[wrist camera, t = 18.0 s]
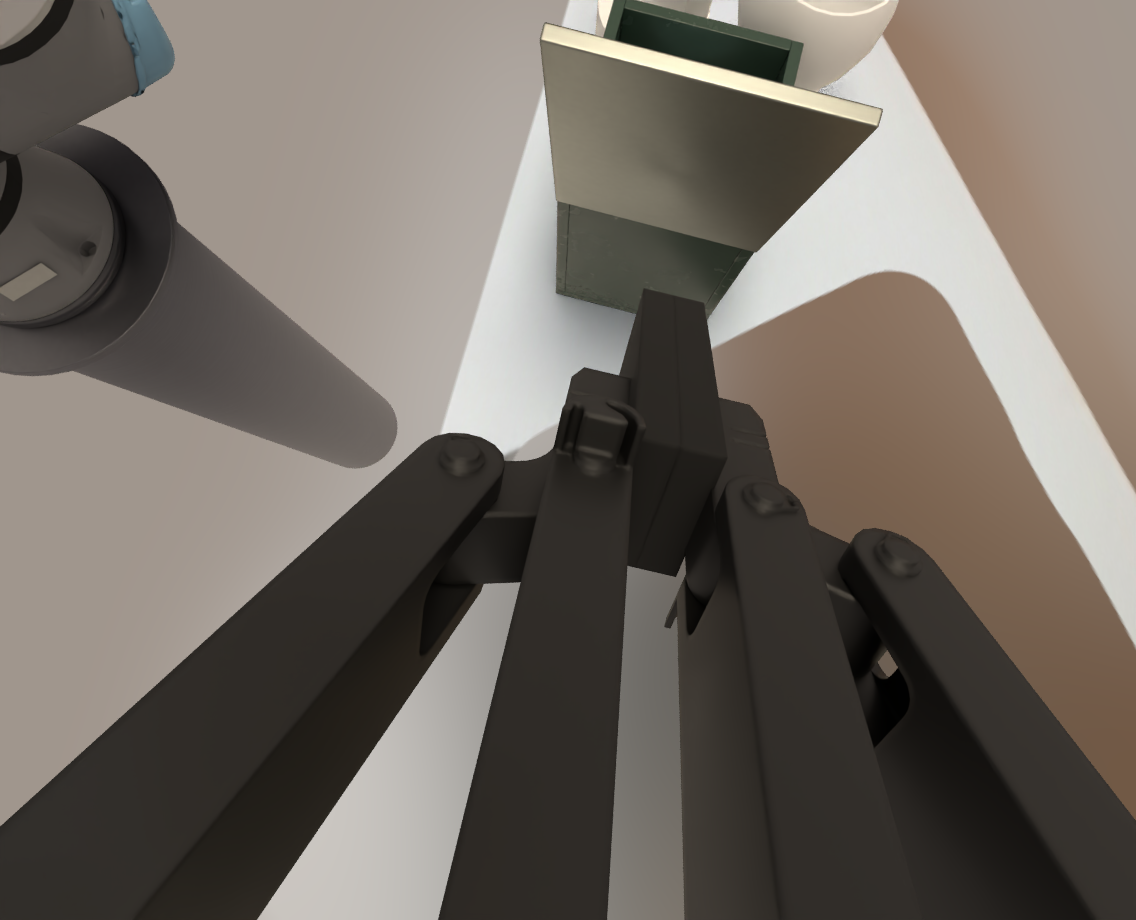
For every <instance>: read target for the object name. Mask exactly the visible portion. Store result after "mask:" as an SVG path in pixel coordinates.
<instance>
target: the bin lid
mask: <svg viewBox="0 0 1136 920" xmlns="http://www.w3.org/2000/svg"><path fill="white" fill-rule="evenodd" d="M540 46H541V55H542V65H543V74H544V75H543V76H544V85H545V95H546V105H547V115H548V125H549V135H550V144H551V154H552V164H553V174H554V184H555V194H556V200H557V201H559V202H563V203H567V204H571V205H575V206H579V207H582V208H586V209H590V210H594V211H598V212H602V213H606V214H609V215H613V216H617V217H621V218H625V219H629V220H633V221H636V222H640V223H644V224H648V225H652V226H656V227H660V228H664V229H667V230H671V231H675V232H679V233H683V234H687V235H691V236H694V237H698V238H702V239H706V240H710V241H714V242H718V243H721V244H725V245H729V246H733V247H737V248H741V249H745V250H748V251H752V252H757V251H758V250H759V249H760V248H761V247H762V246H763V245H764V244H765V243H766V242H767V241H768V240H769V239H770V238H771V237H772V236H773V235H774V234H775V233H776V232H777V231H778V230H779V229H780V228H781V227H782V226H783V225H784V224H785V223H786V222H787V221H788V219H789V218H790V217H791V216H792V215H793V214H794V213H795V212H796V211H797V210H798V209H799V208H800V207H801V206H802V205H803V204H804V203H805V202H806V201H807V200H808V199H809V198H810V197H811V196H812V195H813V194H814V193H815V192H816V191H817V190H818V189H819V188H820V186H821V185H822V184H823V183H824V182H825V181H826V180H827V179H828V178H829V177H830V176H831V175H832V174H833V173H834V172H835V171H836V170H837V169H838V168H839V167H840V166H841V165H842V164H843V163H844V162H845V161H846V160H847V159H848V158H849V157H850V156H851V155H852V153H853V152H854V151H855V150H856V149H857V148H858V147H859V146H860V145H861V144H862V143H863V142H864V141H865V140H866V139H867V138H868V137H869V136H870V135H871V134H872V133H873V132H874V131H875V130H876V129H877V128H878V126H879V123H880V119H881V116H882V112H883V109H881V108H877V107H873V106H869V105H865V104H862V103H858V102H854V101H850V100H846V99H842V98H838V97H834V96H830V95H826V94H823V93H819V92H815V91H811V90H807V89H803V88H799V87H795V86H791V85H788V84H784V83H780V82H776V81H772V80H768V79H764V78H760V77H756V76H753V75H749V74H745V73H741V72H737V71H733V70H729V69H725V68H721V67H717V66H714V65H710V64H706V63H702V62H698V61H694V60H690V59H686V58H682V57H679V56H675V55H671V54H667V53H663V52H659V51H655V50H651V49H647V48H643V47H640V46H636V45H632V44H628V43H624V42H620V41H616V40H612V39H608V38H605V37H601V36H597V35H593V34H589V33H585V32H581V31H577V30H573V29H569V28H566V27H562V26H558V25H554V24H550V23H544V25H543V29H542V33H541V37H540Z"/></svg>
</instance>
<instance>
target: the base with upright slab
mask: <svg viewBox="0 0 1136 920" xmlns="http://www.w3.org/2000/svg"><path fill="white" fill-rule="evenodd" d="M638 1H642V2H646V3H650V4H654V5H658V6H662V7H666V8H669V9H673V10H677V11H681V12H685V13H689V14H693V15H697V16H701V17H705V18H708V19H709V14H710V6H711V3H712V0H638ZM612 4H613V0H598V8H597V20H596V31H595V35H597V36H601V37H603V35H604V32H605V28H606V25H607V21H608V18H609V14H610V11H611V7H612Z"/></svg>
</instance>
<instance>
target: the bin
mask: <svg viewBox="0 0 1136 920" xmlns="http://www.w3.org/2000/svg"><path fill="white" fill-rule="evenodd" d="M603 37H605V38H608V39H612V40H616V41H620V42H624V43H628V44H632V45H636V46H640V47H643V48H647V49H651V50H655V51H659V52H663V53H667V54H671V55H675V56H679V57H682V58H686V59H690V60H694V61H698V62H702V63H706V64H710V65H714V66H717V67H721V68H725V69H729V70H733V71H737V72H741V73H745V74H749V75H753V76H756V77H760V78H764V79H768V80H772V81H776V82H780V83H784V84H788V85H791V86H794V85H795V80H796V76H797V72H798V68H799V63H800V59H801V55H802V51H803V46H804V43H801V42H797V41H792V40H790V39H787V38H783V37H779V36H775V35H771V34H767V33H763V32H759V31H755V30H751V29H748V28H744V27H740V26H736V25H732V24H728V23H724V22H720V21H716V20H712V19H708V18H705V17H701V16H697V15H693V14H689V13H685V12H681V11H677V10H673V9H669V8H666V7H662V6H658V5H654V4H650V3H646V2H642V1H638V0H613V4H612V7H611V11H610V14H609V18H608V21H607V25H606V28H605V32H604V35H603ZM753 253H754V252H752V251H748V250H745V249H741V248H737V247H733V246H729V245H725V244H721V243H718V242H714V241H710V240H706V239H702V238H698V237H694V236H691V235H687V234H683V233H679V232H675V231H671V230H667V229H664V228H660V227H656V226H652V225H648V224H644V223H640V222H636V221H633V220H629V219H625V218H621V217H617V216H613V215H609V214H606V213H602V212H598V211H594V210H590V209H586V208H582V207H579V206H575V205H571V204H567V203H563V202H559V201H557V263H556V293H558V294H562V295H566V296H569V297H573V298H577V299H581V300H585V301H589V302H592V303H596V304H600V305H604V306H608V307H612V308H615V309H619V310H623V311H627V312H631V313H635V314H637V310H638V307H639V303H640V299H641V296H642V292H643V289H644V288H645V289H649V290H653V291H658V292H662V293H666V294H670V295H674V296H678V297H683V298H687V299H691V300H695V301H699V302H703V303H704V305H705V312H706V318H707V319H708V318H709V316H710V315H711V313H712V312H713V310H714V309H715V308H716V306H717V305H718V303H719V302H720V300H721V299H722V298H723V296H724V295H725V293H726V292H727V290H728V289H729V288H730V286H731V285H732V283H733V282H734V280H735V279H736V278H737V276H738V275H739V273H740V272H741V270H742V269H743V268H744V266H745V265H746V263H747V262H748V260H749V259H750V258H751V256H752V255H753Z"/></svg>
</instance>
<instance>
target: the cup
mask: <svg viewBox="0 0 1136 920" xmlns="http://www.w3.org/2000/svg"><path fill="white" fill-rule="evenodd" d="M898 1H899V0H739V1H738V26H740V27H744V28H748V29H751V30H755V31H759V32H763V33H767V34H771V35H775V36H779V37H783V38H787V39H790V40H792V41H797V42H801V43H804V46H803V51H802V55H801V59H800V63H799V68H798V72H797V76H796V80H795V85H794V86H795V87H799V88H803V89H807V90H811V91H815V92H818V91H819V90H820V89H821V88H823V87H825V86H827V85H829V84H831V83H833V82H835V81H836V80H838V79H840V78H841V77H842V76H843V75H844V74H846V73H847V72H848V71H849V70H850V69H852V68H853V67H854V66H855V65H856V64H858V63H859V62H860V61H861V60H862V59H863V58H864V57H865V56H866V55H867V54H868V53H870V51H871V50H872V48H873V47H874V45H875V44H876V42H877V41H878V39H879V38H880V36H881V35H882V33H883V31H884V30H885V28H886V27H887V25H888V23H889V22H890V20H891V18H892V17H893V15H894V13H895V10H896V7H897V4H898Z"/></svg>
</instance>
